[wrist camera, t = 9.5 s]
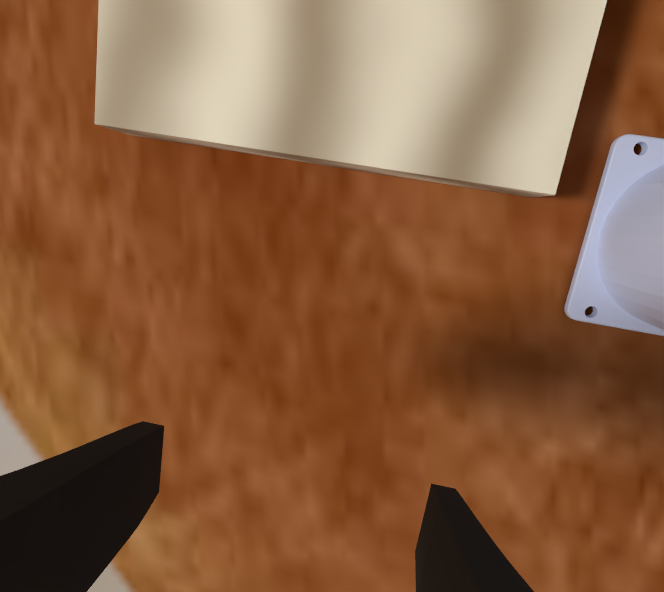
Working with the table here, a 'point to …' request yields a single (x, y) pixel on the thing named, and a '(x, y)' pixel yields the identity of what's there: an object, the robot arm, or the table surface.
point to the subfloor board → (356, 82)
